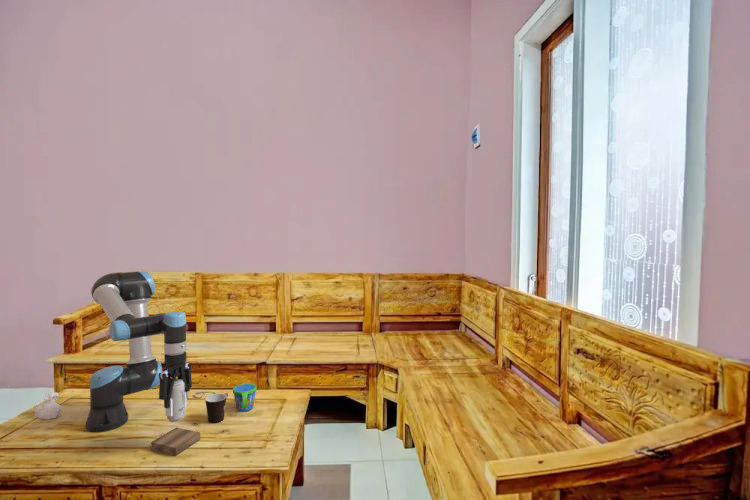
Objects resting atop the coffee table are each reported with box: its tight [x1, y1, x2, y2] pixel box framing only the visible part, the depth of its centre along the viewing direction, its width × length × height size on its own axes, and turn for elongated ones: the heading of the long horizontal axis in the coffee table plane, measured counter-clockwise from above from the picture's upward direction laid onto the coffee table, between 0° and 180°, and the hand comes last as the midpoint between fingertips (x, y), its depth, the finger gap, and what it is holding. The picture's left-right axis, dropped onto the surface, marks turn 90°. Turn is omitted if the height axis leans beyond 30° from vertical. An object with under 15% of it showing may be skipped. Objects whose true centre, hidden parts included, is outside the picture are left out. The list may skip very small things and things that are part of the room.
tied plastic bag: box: [34, 391, 63, 420], centre depth 173 cm, size 12×8×11 cm
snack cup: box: [232, 383, 257, 413], centre depth 182 cm, size 16×10×10 cm
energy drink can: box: [166, 377, 186, 423], centre depth 150 cm, size 6×6×15 cm
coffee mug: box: [204, 393, 227, 424], centre depth 172 cm, size 12×9×10 cm
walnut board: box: [150, 427, 201, 457], centre depth 151 cm, size 12×12×3 cm
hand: (176, 411), depth 150 cm, fingers closed on energy drink can, 6 cm apart
